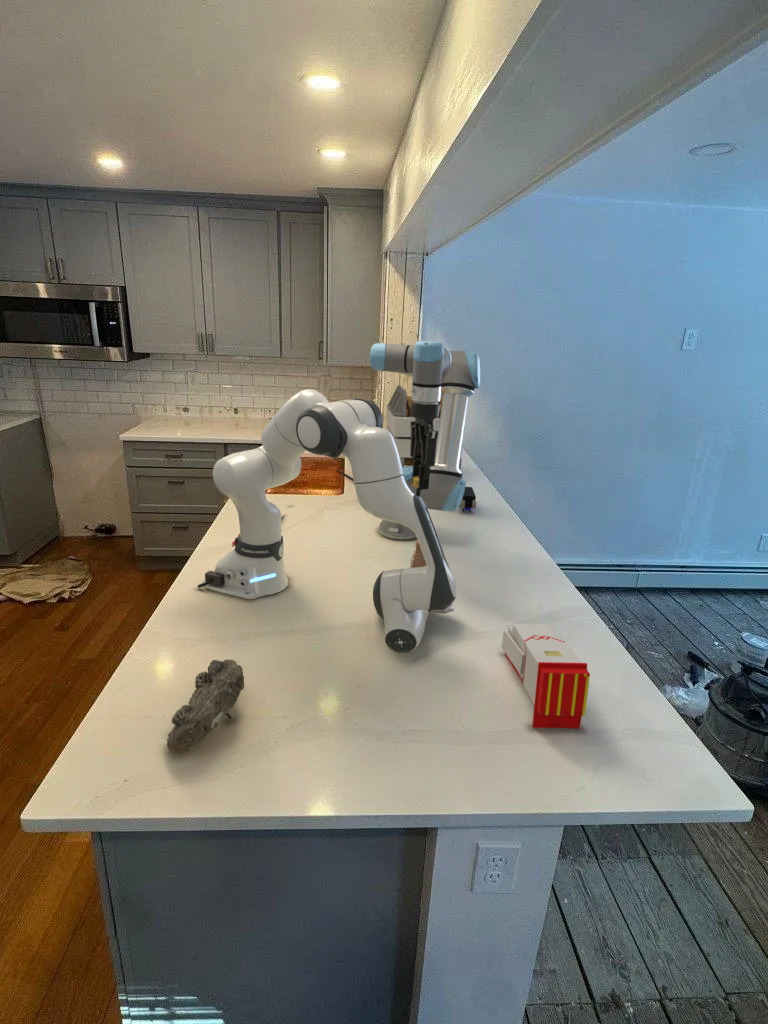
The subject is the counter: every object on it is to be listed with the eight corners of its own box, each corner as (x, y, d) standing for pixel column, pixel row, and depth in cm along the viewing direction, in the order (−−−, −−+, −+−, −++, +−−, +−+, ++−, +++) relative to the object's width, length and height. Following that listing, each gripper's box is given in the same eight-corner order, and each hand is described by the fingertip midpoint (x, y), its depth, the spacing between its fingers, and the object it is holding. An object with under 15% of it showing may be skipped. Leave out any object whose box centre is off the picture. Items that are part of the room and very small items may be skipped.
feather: (291, 508, 223) (294, 504, 222) (274, 533, 196) (277, 528, 195) (287, 506, 222) (290, 502, 222) (270, 530, 196) (272, 526, 195)
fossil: (192, 660, 117) (244, 628, 112) (224, 691, 120) (276, 661, 115) (142, 746, 98) (202, 712, 93) (182, 779, 101) (242, 748, 96)
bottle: (404, 603, 153) (408, 540, 147) (417, 598, 156) (421, 536, 150) (416, 610, 149) (420, 546, 143) (429, 605, 152) (434, 542, 146)
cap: (425, 489, 155) (425, 481, 154) (410, 486, 157) (411, 479, 156) (429, 484, 159) (430, 477, 158) (415, 482, 160) (415, 475, 160)
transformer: (382, 463, 289) (386, 382, 275) (445, 464, 293) (451, 384, 279) (390, 482, 257) (394, 392, 243) (460, 483, 261) (468, 394, 247)
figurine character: (476, 517, 222) (470, 501, 236) (478, 500, 219) (472, 484, 232) (459, 517, 222) (454, 501, 236) (461, 499, 219) (456, 484, 232)
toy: (548, 608, 134) (599, 669, 104) (543, 661, 136) (591, 735, 107) (497, 607, 133) (533, 668, 104) (493, 660, 136) (527, 734, 107)
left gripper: (454, 601, 136) (458, 576, 149) (371, 590, 139) (382, 567, 152) (452, 624, 138) (456, 597, 151) (370, 613, 141) (381, 588, 154)
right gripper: (400, 396, 156) (396, 478, 164) (425, 408, 141) (419, 497, 149) (425, 396, 158) (420, 476, 167) (452, 407, 143) (445, 495, 152)
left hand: (418, 582), depth 151 cm, fingers closed on bottle, 5 cm apart
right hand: (420, 486), depth 158 cm, fingers closed on cap, 4 cm apart
